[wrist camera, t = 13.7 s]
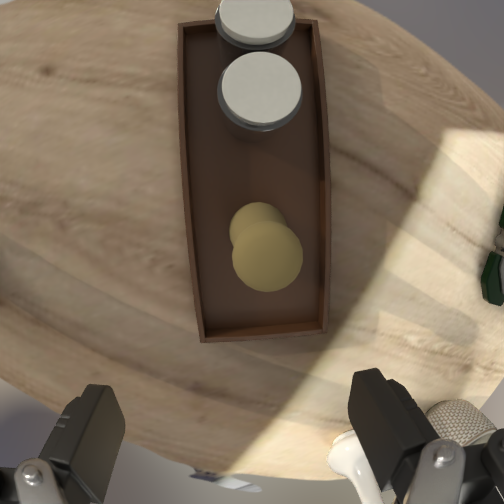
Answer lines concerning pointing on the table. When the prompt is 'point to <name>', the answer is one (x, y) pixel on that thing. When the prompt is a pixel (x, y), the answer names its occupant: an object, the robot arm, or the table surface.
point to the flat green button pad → (495, 271)
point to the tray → (254, 192)
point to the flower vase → (354, 466)
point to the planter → (460, 422)
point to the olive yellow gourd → (264, 248)
